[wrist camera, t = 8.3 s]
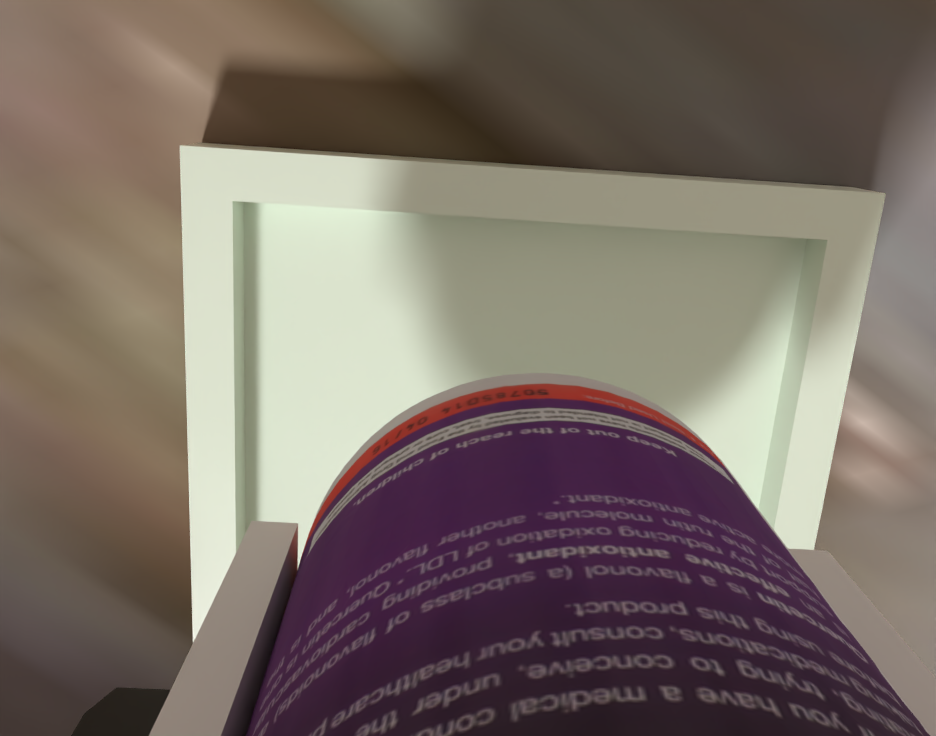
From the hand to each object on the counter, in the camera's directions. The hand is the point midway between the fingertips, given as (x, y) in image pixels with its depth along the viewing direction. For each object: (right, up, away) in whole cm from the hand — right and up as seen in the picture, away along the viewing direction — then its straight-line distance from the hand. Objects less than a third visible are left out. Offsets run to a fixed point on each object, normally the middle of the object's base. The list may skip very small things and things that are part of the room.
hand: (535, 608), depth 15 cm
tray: (0, +2, +6) cm, 6 cm away
